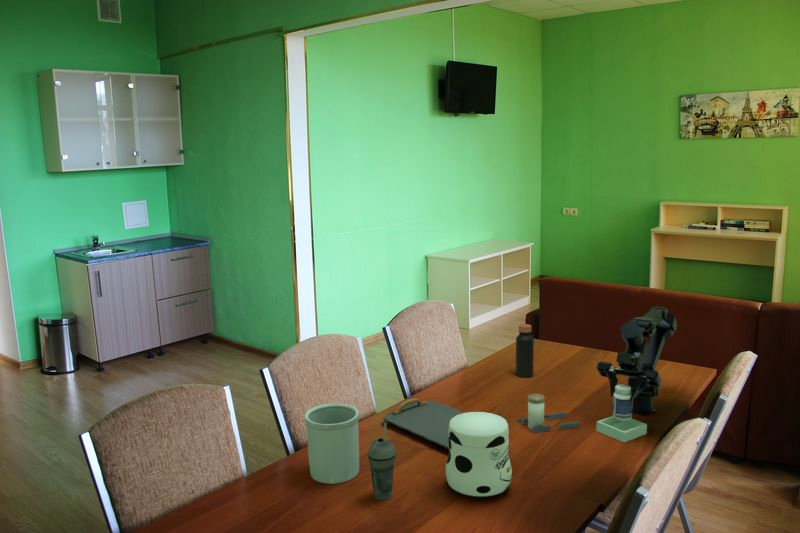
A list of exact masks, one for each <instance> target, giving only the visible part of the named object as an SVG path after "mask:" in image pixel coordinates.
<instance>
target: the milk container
mask: <svg viewBox="0 0 800 533" xmlns="http://www.w3.org/2000/svg"><path fill="white" fill-rule="evenodd" d="M509 431H510V430H509V424H508V422H507V420H506V419H505V418H504V417H503V416H501V415H498V414H495V413H491V412H484V411H471V412H470V411H469V412H464V413H463V414H459V415H456V416H455V417H453V418H452V419H451V421H450V423H449V449H448V455H447V458H446V463H445V477H446V481H447V483H448V486H449V487H450V488H451V489H452V490H453V491H455V492H456V493H458V494H460V495H461V496H465V497H469V498H478V499H487V498H491V497H493V498H494V497H495V496H497V495H500V494H503V493H504V492H505V491H507V489H508V488H509V487H510V485H511V480H512V476H513V474H512V473H513V471H512V470H513V469H512V463H511V460H510V456H509V455H510V454H509V445H510V444H509V442H510V440H509V436H510V435H509V434H510V433H509Z"/></svg>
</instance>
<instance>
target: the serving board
mask: <svg viewBox="0 0 800 533" xmlns="http://www.w3.org/2000/svg"><path fill="white" fill-rule="evenodd" d="M463 413H465V412H464V411H461V410H459V409H457V408H453V407H451V406H448V405H446V404H444V403H440V402H438V401H436V400H435V401H434V400H425V401H424V400H423V401H422V400H420V399H419V398H410V399H407V400H404V401H402V402H401V403H399V405H398V406H397V408H395V409H393V410H392V411H390V412H388V413H387V414H386V415H384V417H383V421H385V423H387V424H386V426H387V425H388V426H391V425H393V426H395V427H398V428H400V429H402V430H405V431H407V432H409V433H410V434H413V435H415V436H418V437H420V438H422V439H424V440H426V441H428V442H430V443H434V444H436V445H439V446H440V447H442V448H444V449H446V450H449V423H450V421H451V419H452V418H453V417H455V416H456V415H459V414H463Z"/></svg>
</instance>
